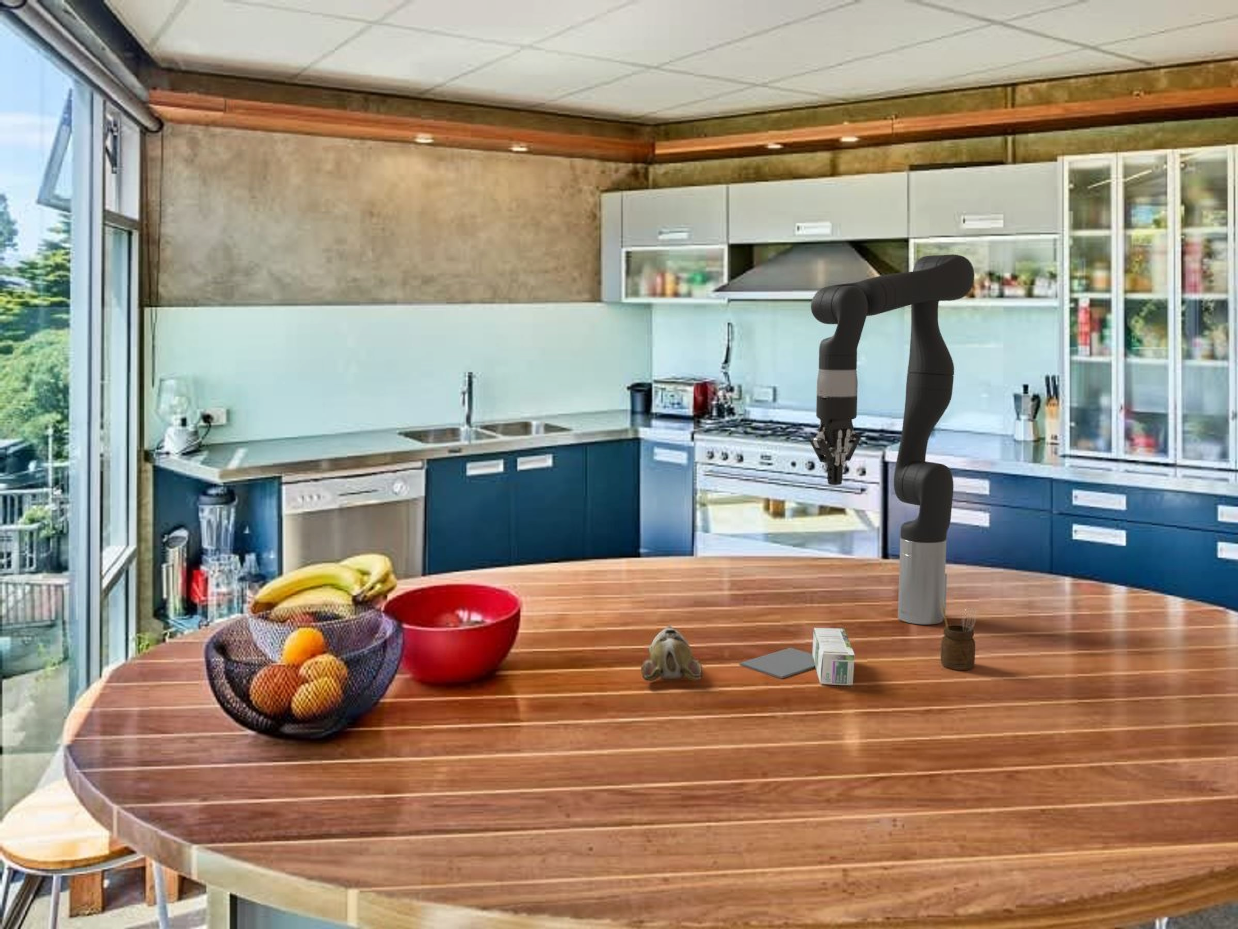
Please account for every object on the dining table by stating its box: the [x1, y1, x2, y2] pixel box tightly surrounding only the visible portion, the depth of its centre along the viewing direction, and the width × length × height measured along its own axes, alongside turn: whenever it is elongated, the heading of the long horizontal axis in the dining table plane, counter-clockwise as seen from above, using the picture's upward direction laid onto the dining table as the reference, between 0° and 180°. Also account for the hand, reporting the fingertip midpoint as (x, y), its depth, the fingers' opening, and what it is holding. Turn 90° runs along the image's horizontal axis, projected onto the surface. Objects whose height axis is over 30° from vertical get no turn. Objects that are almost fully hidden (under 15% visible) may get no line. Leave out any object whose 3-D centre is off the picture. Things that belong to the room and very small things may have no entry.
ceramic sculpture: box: [640, 624, 703, 682], centre depth 189 cm, size 11×9×15 cm
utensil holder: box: [940, 601, 978, 671], centre depth 194 cm, size 6×6×12 cm
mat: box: [739, 647, 816, 679], centre depth 196 cm, size 14×10×1 cm
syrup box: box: [811, 627, 856, 686], centre depth 191 cm, size 6×6×14 cm
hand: (834, 484), depth 204 cm, fingers closed
